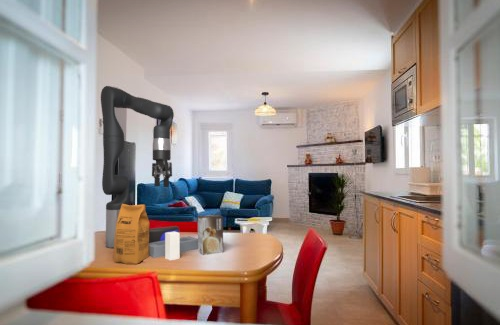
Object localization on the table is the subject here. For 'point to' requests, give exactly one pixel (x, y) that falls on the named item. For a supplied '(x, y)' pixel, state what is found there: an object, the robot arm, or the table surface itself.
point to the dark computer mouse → (160, 233)
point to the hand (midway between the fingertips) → (161, 186)
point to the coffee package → (131, 235)
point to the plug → (172, 245)
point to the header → (185, 245)
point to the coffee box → (210, 234)
